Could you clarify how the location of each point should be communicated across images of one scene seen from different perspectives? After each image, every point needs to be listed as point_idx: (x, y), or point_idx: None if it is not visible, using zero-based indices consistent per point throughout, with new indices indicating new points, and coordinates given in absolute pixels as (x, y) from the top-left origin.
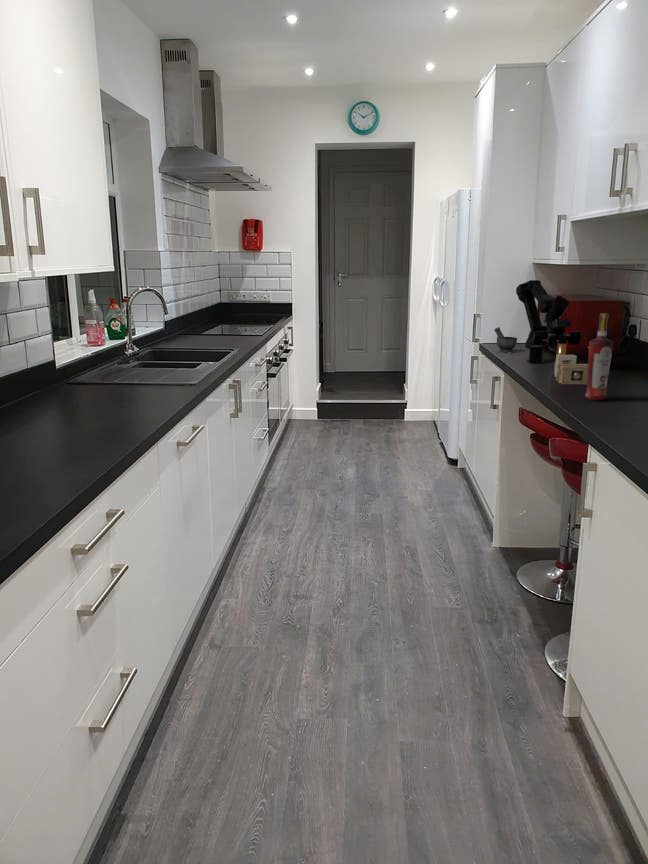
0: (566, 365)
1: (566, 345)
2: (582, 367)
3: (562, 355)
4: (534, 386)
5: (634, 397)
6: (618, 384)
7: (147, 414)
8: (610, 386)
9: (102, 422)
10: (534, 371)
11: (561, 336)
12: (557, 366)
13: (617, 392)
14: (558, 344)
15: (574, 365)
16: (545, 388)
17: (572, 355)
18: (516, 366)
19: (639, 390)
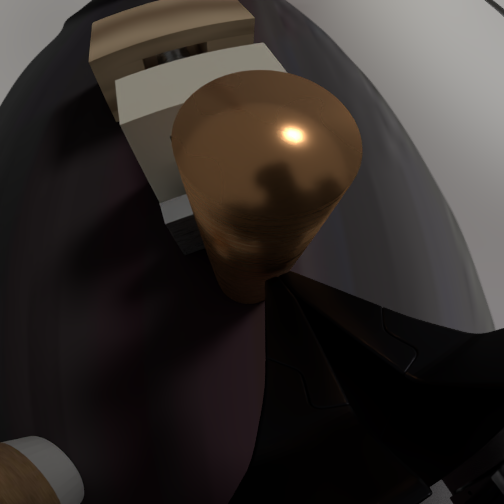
0: (207, 4)
1: (183, 127)
2: (139, 7)
3: (233, 67)
4: (306, 17)
5: (70, 19)
6: (27, 116)
7: (498, 10)
8: (64, 77)
9: (492, 3)
10: (408, 313)
11: (407, 497)
12: (252, 26)
13: (82, 32)
14: (325, 93)
15: (167, 13)
16: (270, 6)
17: (142, 91)
18: None
19: (20, 74)
